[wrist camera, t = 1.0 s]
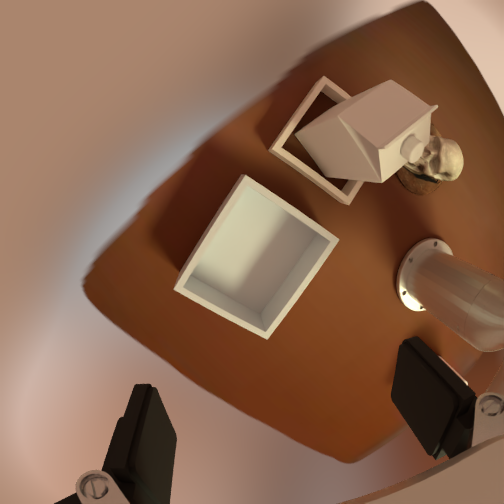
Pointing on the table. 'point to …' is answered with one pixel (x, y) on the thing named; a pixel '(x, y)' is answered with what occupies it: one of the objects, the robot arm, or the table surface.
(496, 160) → the table surface
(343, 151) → the milk carton
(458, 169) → the skull
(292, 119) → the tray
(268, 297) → the tub
